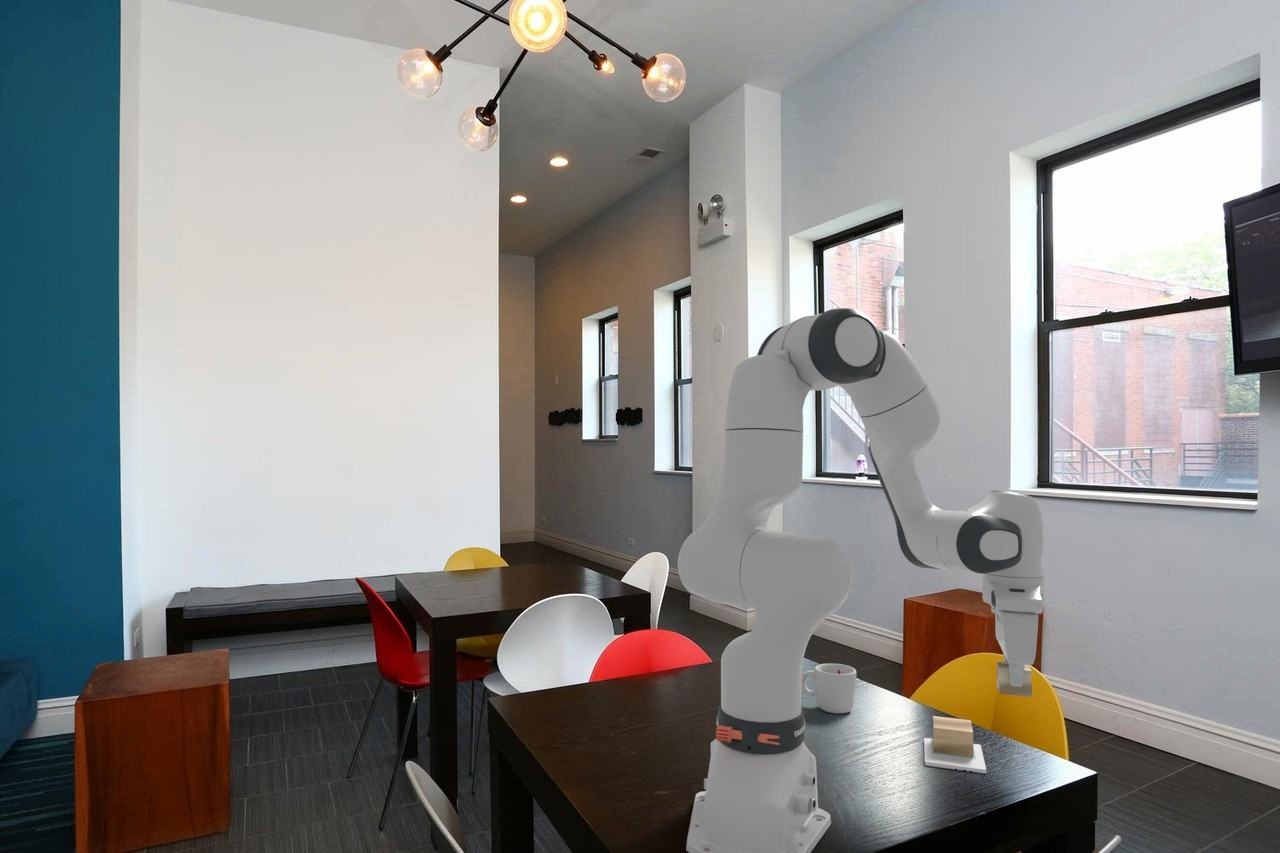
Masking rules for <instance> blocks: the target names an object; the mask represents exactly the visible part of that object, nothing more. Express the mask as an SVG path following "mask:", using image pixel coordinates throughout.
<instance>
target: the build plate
mask: <svg viewBox="0 0 1280 853" xmlns="http://www.w3.org/2000/svg"><path fill="white" fill-rule="evenodd" d="M923 744H924V745H923V746H924V749H923V750H924V752H923V753H924V766H926V767H927V766H928V767H935V768H942V769H949V770H950V769H951V770H955V769H957V771H963V770H966V771H965V772H970V771H972V772H971V773H977V774H978V773H979V774H987V766H986V762H985V758H984V753H983V749H982V745H981V744H978V743H973V752H974V757H968V756H960V755H952V754H945V753H937V752H934V742H933V738H929V737H924V738H923Z"/></svg>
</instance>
